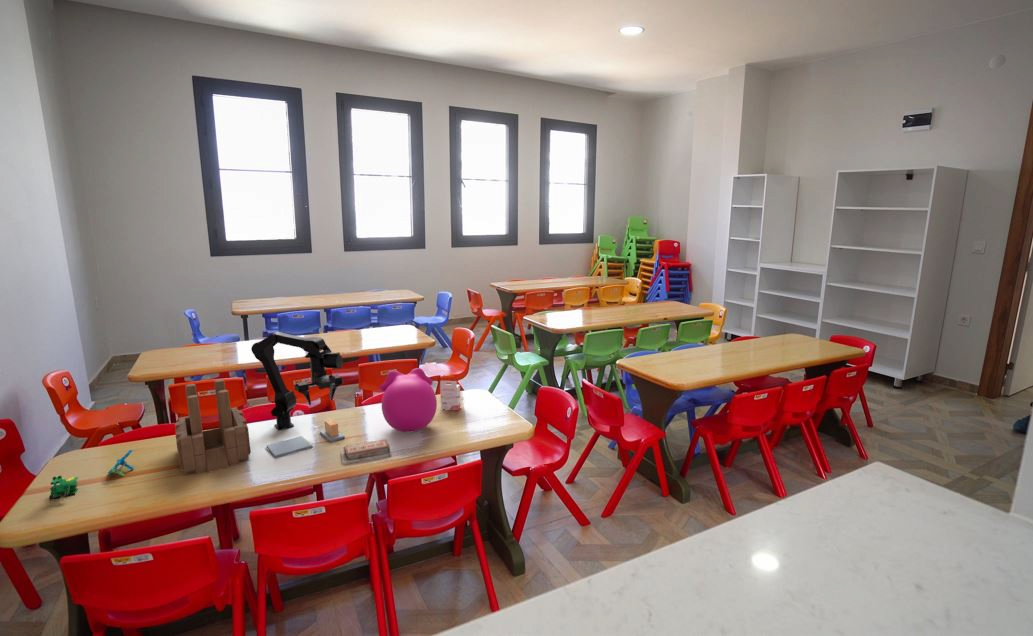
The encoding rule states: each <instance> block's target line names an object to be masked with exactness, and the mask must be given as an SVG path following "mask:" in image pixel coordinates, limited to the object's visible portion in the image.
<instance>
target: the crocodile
mask: <svg viewBox="0 0 1033 636" xmlns="http://www.w3.org/2000/svg"><path fill="white" fill-rule="evenodd" d="M78 478H79V477H78V476H73V477H70V478H68V479H66V478H64V477H63V476H62V475H61V474H60V475H58V476H57V475H54V476H53V477H52V481H51V482H50V495H49V496H48V497H49V501H51V500H57V499H60V498H61V497H62V495H63V493H64V496H65V498H67V497H72V496H75V495H76V494H77V492H78V490H79V488H78V483H77V482H78V481H77V480H78ZM75 493H76V494H75Z"/></svg>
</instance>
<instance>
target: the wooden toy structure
mask: <svg viewBox="0 0 1033 636" xmlns="http://www.w3.org/2000/svg"><path fill="white" fill-rule="evenodd" d="M184 387H185V396H186V397H185V398H186V401H187V410H188V416H183V417H178V418H177V419H178V420H177V422H175V423H174V429H175V439H176V448H177V456H178V462H179V468H180V469H179V470H181V471H182V472H184V475H190V474H193V473H196V474H200V473H205V472H207V473H208V474H209V473H212V472H216V471H220V470H224V469H225V470H226V469H230V466H233V465H238V464H240V463H239V462H244V461H248V460H249V455H250V454H251V453H252V452H251V451H252V449H251V441H250V433H249V427H248V425H247V418H244V412H243V411H242V410H239V409H238V407H237V406H236V407H231V402H230V401H231V400H230V393H229V390H228V389H226V385H225V379H223V378H222V379H215V380H214V390H215V398H216V407H217V414H218V421H219V427H217V428H213V429H208V430H203V425H202V416H201V409H200V402H199V396H198V393H197V386H196V384H195V383H189V384H186V385H185V386H184ZM216 445H222V446H220V447H214V448H211V449H210V448H209V449H207V450H206V447H207V448H208V447H211V446H216Z"/></svg>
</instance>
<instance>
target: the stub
mask: <svg viewBox="0 0 1033 636" xmlns="http://www.w3.org/2000/svg"><path fill="white" fill-rule="evenodd" d="M319 434H320V435H322V436H323V437H324V438H325V439H326V440H327V441H329V442H330V443H333V442H337V441H340V440H343V438H344V439H345V438H346V436H345V435H344V434H343V433H341V432H340V430H339V423H337V422H336V421H335V420H334V419H333V418H329V419H326V420H324V429H322V430H319Z"/></svg>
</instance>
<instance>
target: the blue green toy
mask: <svg viewBox="0 0 1033 636" xmlns="http://www.w3.org/2000/svg"><path fill="white" fill-rule="evenodd" d="M132 452H134V450H133V449H130V450H129V451H127V452H126V453H125V455H124V456H122V458H118V459H117V461H116V463H115V464H114V465H113V466H112V468H111V469H110V470H109V471H108V472H107V473H108V474H109V475H111V474H112V473H114V474H115V475H116V474H118V475H120V476H122V477H124V476H125V474H124V473H123V472H121V469H123V467H125V468H127V469H129V470H131V471H133V470H134V468H135V467H133V466H132V465H130V464H129V463H128V462H127V461H126V459H127V458H128V457H129V456H130V455H131V453H132ZM119 466H120V467H119ZM118 467H119V468H118Z"/></svg>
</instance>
